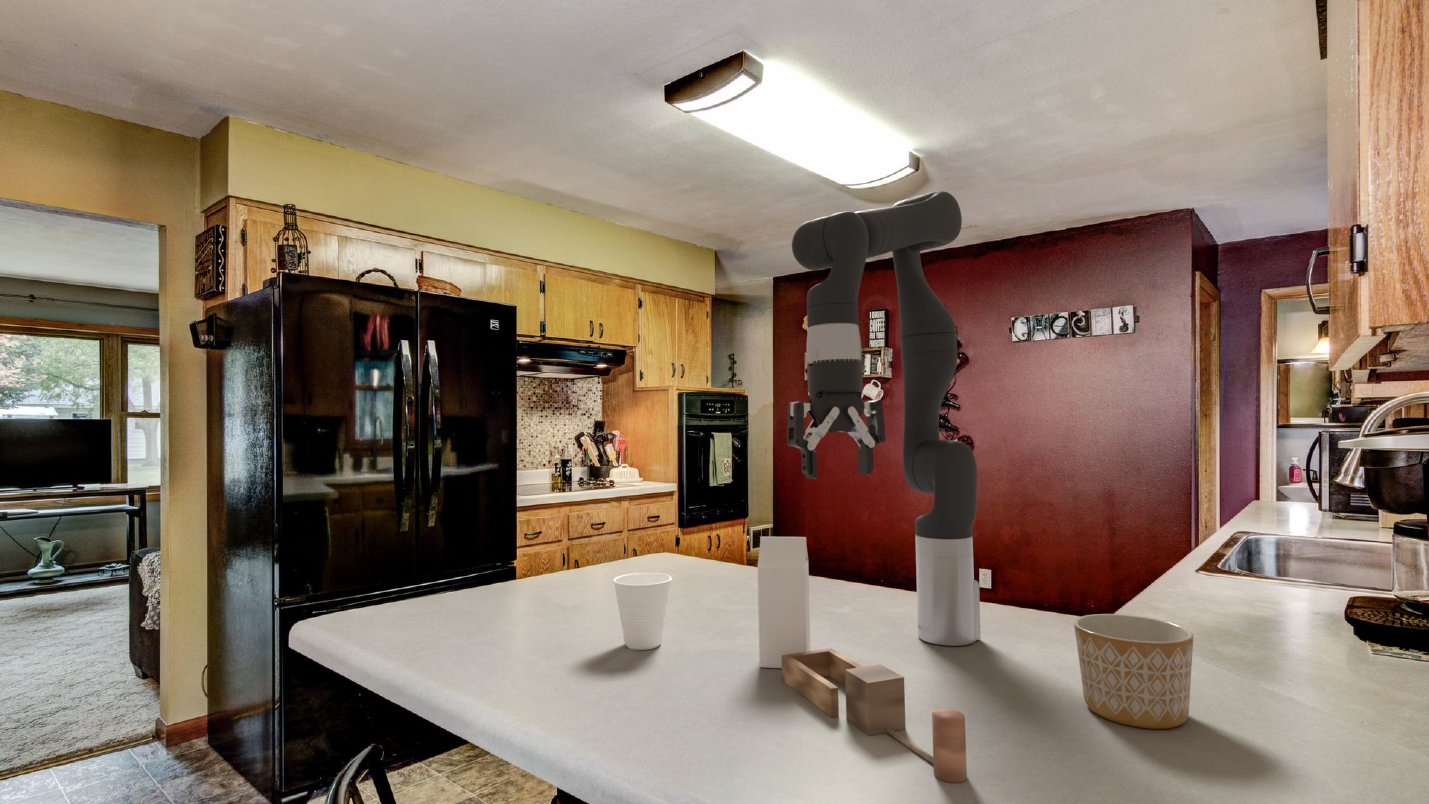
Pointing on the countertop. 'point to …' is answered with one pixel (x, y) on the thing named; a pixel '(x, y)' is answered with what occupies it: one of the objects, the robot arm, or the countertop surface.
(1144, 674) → the planter
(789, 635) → the milk carton
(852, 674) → the tethered walnut block
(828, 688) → the frame
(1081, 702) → the countertop surface
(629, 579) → the cup
